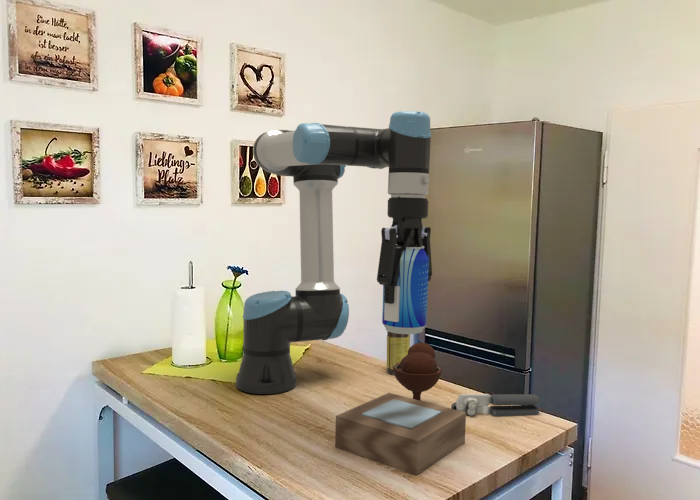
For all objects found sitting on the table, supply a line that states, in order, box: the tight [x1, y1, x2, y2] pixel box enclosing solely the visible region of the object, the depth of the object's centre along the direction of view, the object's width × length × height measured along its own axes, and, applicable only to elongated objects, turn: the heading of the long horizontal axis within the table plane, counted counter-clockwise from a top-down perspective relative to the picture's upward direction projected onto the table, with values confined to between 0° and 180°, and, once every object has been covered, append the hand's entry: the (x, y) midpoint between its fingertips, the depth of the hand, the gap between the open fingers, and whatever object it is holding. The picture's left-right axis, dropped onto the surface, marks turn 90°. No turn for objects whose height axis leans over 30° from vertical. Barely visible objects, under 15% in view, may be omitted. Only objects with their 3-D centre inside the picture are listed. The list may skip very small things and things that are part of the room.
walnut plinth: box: [334, 392, 467, 476], centre depth 111 cm, size 18×18×6 cm
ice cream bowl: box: [393, 342, 443, 401], centre depth 130 cm, size 11×11×15 cm
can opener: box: [450, 393, 540, 417], centre depth 129 cm, size 19×6×5 cm, turn 93°
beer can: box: [381, 246, 429, 335], centre depth 109 cm, size 8×8×16 cm
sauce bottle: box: [386, 330, 411, 377], centre depth 157 cm, size 6×6×20 cm
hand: (404, 317), depth 109 cm, fingers closed on beer can, 8 cm apart
